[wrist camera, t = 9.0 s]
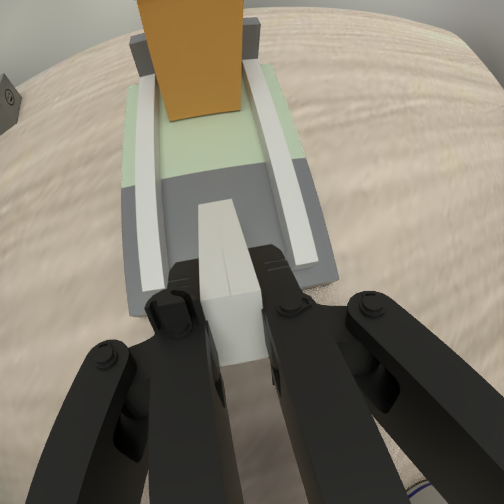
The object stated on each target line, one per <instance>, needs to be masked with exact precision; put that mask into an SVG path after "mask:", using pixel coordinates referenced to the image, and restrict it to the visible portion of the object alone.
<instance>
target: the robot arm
mask: <svg viewBox="0 0 504 504" xmlns="http://www.w3.org/2000/svg"><path fill="white" fill-rule="evenodd" d="M198 239H199V258H197V259H191V260H186V261H181V262H175V264H174V265H173V267H172V268H171V269H170V271H169V275H168V284H167V289H164V290H161V291H160V292H158V293H156V294H154V295H153V296H152V297H151V298H150V299H149V300H148V301H147V303H146V305H145V307H144V310H145V312H146V314H147V316H148V319H149V321H150V323H151V325H152V327H153V329H154V332H155V335H154V336H153V337H151V338H150V339H148V340H146V341H144V342H142V343H139V344H137V345H134V346H132V347H129V348H128V347H127V346H126V345H125V344H124V343H123V342H122V341H118V340H106V341H103V342H101V343H99V344H97V345H96V346H95V347H93V348H92V349H91V350H90V352H89V353H88V354H87V356H86V358H85V360H84V362H83V364H82V365H81V367H80V369H79V371H78V373H77V375H76V377H75V379H74V381H73V383H72V385H71V388H70V390H69V392H68V394H67V396H66V398H65V400H64V402H63V405H62V407H61V409H60V411H59V413H58V416H57V418H56V420H55V423H54V425H53V427H52V430H51V432H50V434H49V437H48V439H47V442H46V444H45V447H44V450H43V452H42V455H41V457H40V460H39V463H38V466H37V468H36V471H35V474H34V477H33V480H32V483H31V486H30V489H29V492H28V496H27V499H26V502H25V504H140V502H141V497H142V493H143V489H144V484H145V480H146V476H147V472H148V471H149V497H150V504H244V501H243V496H242V491H241V486H240V480H239V475H238V470H237V464H236V458H235V453H234V447H233V441H232V435H231V429H230V423H229V416H228V410H227V403H226V396H225V390H224V382H223V379H222V376H221V373H220V367H222V366H228V365H233V364H239V363H244V362H249V361H255V360H259V359H264V358H268V355H269V358H270V362H271V372H272V381H273V385H275V387H276V390H277V394H278V397H279V401H280V405H281V408H282V412H283V415H284V419H285V422H286V426H287V429H288V433H289V436H290V440H291V444H292V447H293V451H294V454H295V458H296V461H297V464H298V468H299V471H300V475H301V478H302V482H303V485H304V489H305V492H306V495H307V499H308V502H309V504H411V502H410V500H409V497H408V495H407V493H406V490H405V488H404V486H403V483H402V481H401V479H400V476H399V474H398V472H397V470H396V467H395V465H394V463H393V460H392V458H391V456H390V454H389V452H388V449H387V447H386V445H385V443H384V440H383V438H382V436H381V434H380V432H379V430H378V427H377V425H376V423H375V421H374V419H373V417H374V418H375V419H376V420H377V421H378V422H379V424H380V425H381V426H382V427H383V428H384V430H385V431H386V432H387V433H388V434H389V435H390V437H391V438H392V439H393V440H394V441H395V442H396V444H397V445H398V446H399V447H400V448H401V450H402V451H403V452H404V453H405V454H406V455H407V457H408V458H409V459H410V460H411V461H412V462H413V464H414V465H415V466H416V467H417V468H418V469H419V471H420V472H421V473H422V474H423V475H424V476H425V477H426V479H427V480H428V481H429V482H430V483H431V484H432V486H433V487H434V488H435V489H436V490H437V491H438V492H439V494H440V495H441V496H442V497H443V498H444V499H445V500H446V502H447V503H448V504H504V397H503V396H502V395H501V394H500V393H499V392H498V391H496V390H495V389H494V388H493V387H492V386H491V385H490V384H489V383H488V382H487V381H486V380H485V379H484V378H483V377H482V376H481V375H479V374H478V373H477V372H476V371H475V370H474V369H473V368H472V367H471V366H470V365H469V364H467V363H466V362H465V361H464V360H463V359H462V358H461V357H460V356H459V355H457V354H456V353H455V352H454V351H453V350H452V349H451V348H449V347H448V346H447V345H446V344H445V343H444V342H443V341H441V340H440V339H439V338H438V337H437V336H436V335H434V334H433V333H432V332H431V331H430V330H429V329H427V328H426V327H425V326H424V325H423V324H421V323H420V322H419V321H418V320H417V319H416V318H414V317H413V316H412V315H411V314H409V313H408V312H407V311H406V310H405V309H403V308H402V307H401V306H400V305H399V304H397V303H396V302H395V301H394V300H392V299H391V298H390V297H388V296H386V295H385V294H383V293H380V292H376V291H363V292H360V293H356V294H355V295H354V296H352V297H351V298H350V300H349V302H348V304H347V306H326V305H321V304H317V303H316V302H315V301H314V300H313V299H312V298H311V296H309V295H307V294H305V293H303V292H302V290H301V288H300V286H299V284H298V282H297V280H296V278H295V276H294V274H293V272H292V270H291V268H290V267H289V264H288V262H287V260H286V259H285V256H284V255H283V253H282V251H281V250H280V249H279V248H277V247H276V246H274V245H273V244H268V245H263V246H257V247H252V248H247V245H246V242H245V239H244V236H243V233H242V230H241V226H240V223H239V220H238V217H237V214H236V211H235V208H234V204H233V201H232V199H227V200H221V201H216V202H210V203H205V204H199V205H198ZM219 364H220V367H219ZM371 414H372V415H373V417H372V415H371Z"/></svg>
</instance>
